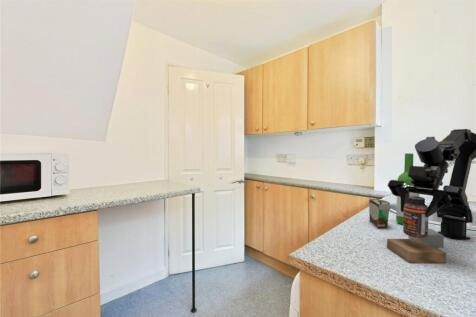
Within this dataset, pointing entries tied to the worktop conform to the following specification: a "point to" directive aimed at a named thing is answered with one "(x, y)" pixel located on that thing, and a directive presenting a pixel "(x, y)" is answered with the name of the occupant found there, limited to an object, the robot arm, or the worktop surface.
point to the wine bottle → (407, 181)
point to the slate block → (433, 238)
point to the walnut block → (416, 251)
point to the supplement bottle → (415, 217)
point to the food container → (379, 212)
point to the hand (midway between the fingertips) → (413, 213)
